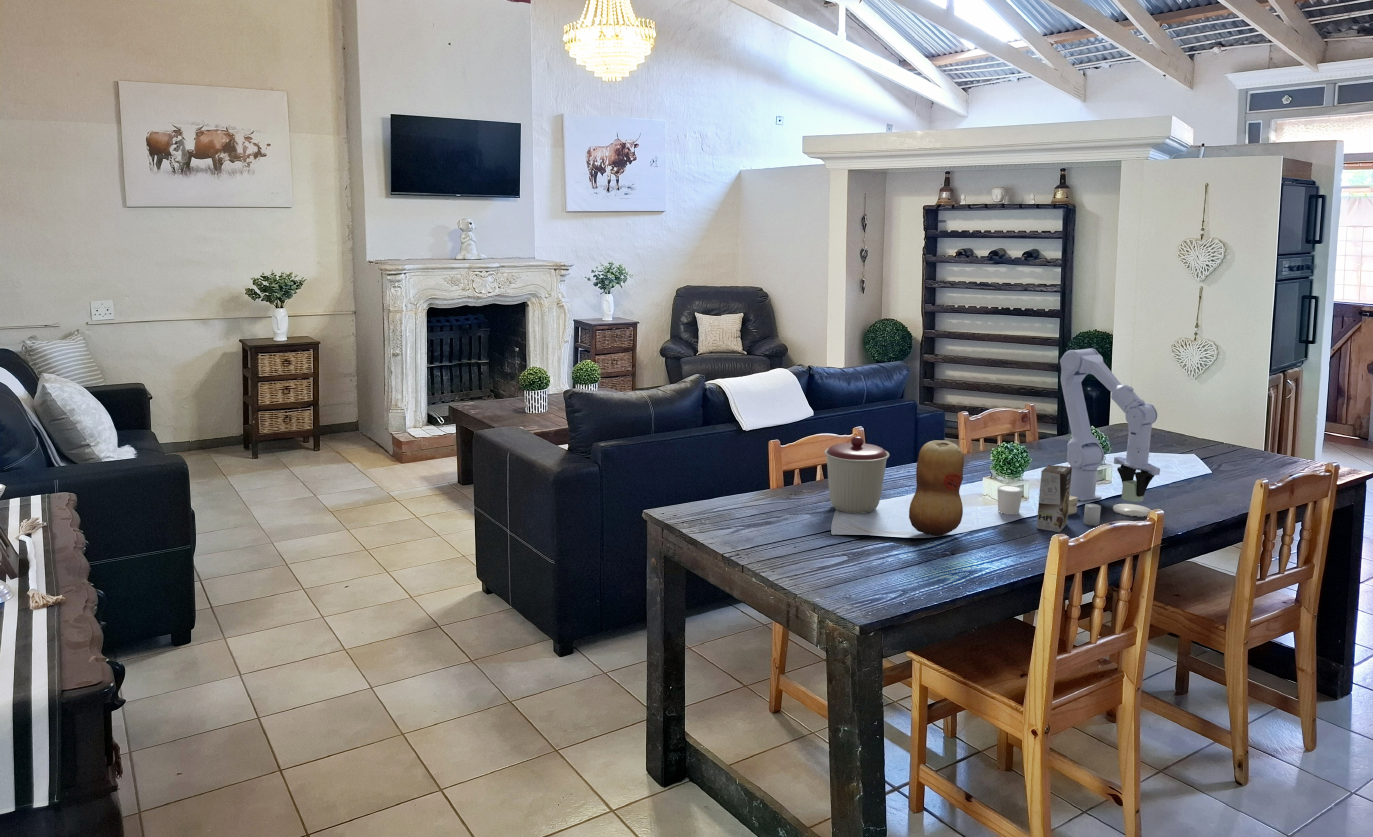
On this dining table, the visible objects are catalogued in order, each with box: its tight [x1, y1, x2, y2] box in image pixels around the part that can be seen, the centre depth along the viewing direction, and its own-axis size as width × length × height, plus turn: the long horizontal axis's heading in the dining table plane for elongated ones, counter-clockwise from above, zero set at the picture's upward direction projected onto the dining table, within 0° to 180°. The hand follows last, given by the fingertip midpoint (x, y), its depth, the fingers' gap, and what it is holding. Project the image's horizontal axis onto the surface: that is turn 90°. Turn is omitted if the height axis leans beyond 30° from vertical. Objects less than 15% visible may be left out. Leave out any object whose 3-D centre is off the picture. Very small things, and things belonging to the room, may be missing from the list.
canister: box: [824, 435, 890, 514], centre depth 287 cm, size 18×18×21 cm
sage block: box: [1121, 479, 1145, 503], centre depth 287 cm, size 4×4×5 cm
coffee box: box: [1036, 464, 1072, 533], centre depth 273 cm, size 9×6×16 cm
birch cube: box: [1068, 496, 1079, 516], centre depth 287 cm, size 4×4×4 cm
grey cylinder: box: [1083, 503, 1102, 527], centre depth 277 cm, size 4×4×5 cm
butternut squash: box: [908, 439, 965, 537], centre depth 264 cm, size 14×13×25 cm
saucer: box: [1112, 503, 1152, 518], centre depth 288 cm, size 10×10×1 cm
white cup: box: [997, 484, 1024, 515], centre depth 287 cm, size 7×7×7 cm
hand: (1133, 494), depth 287 cm, fingers closed on sage block, 4 cm apart
